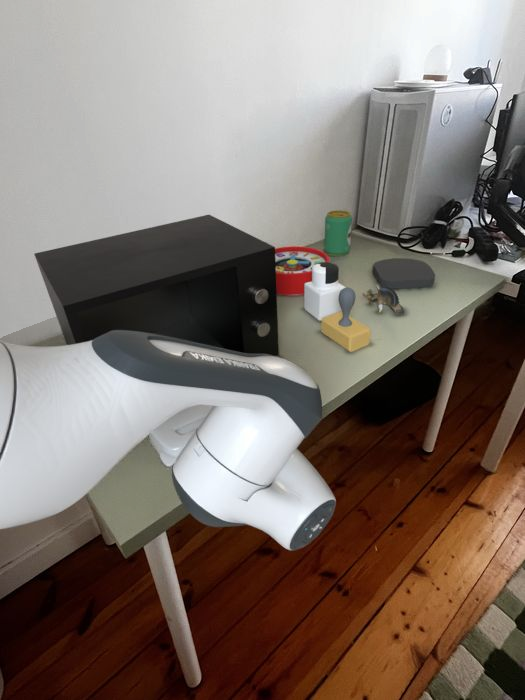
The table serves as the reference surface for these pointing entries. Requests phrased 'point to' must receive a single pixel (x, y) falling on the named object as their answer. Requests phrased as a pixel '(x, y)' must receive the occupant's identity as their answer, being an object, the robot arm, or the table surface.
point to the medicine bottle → (323, 291)
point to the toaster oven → (168, 285)
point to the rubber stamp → (346, 324)
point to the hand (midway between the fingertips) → (197, 387)
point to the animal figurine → (385, 299)
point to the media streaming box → (403, 273)
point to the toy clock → (295, 268)
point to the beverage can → (337, 232)
